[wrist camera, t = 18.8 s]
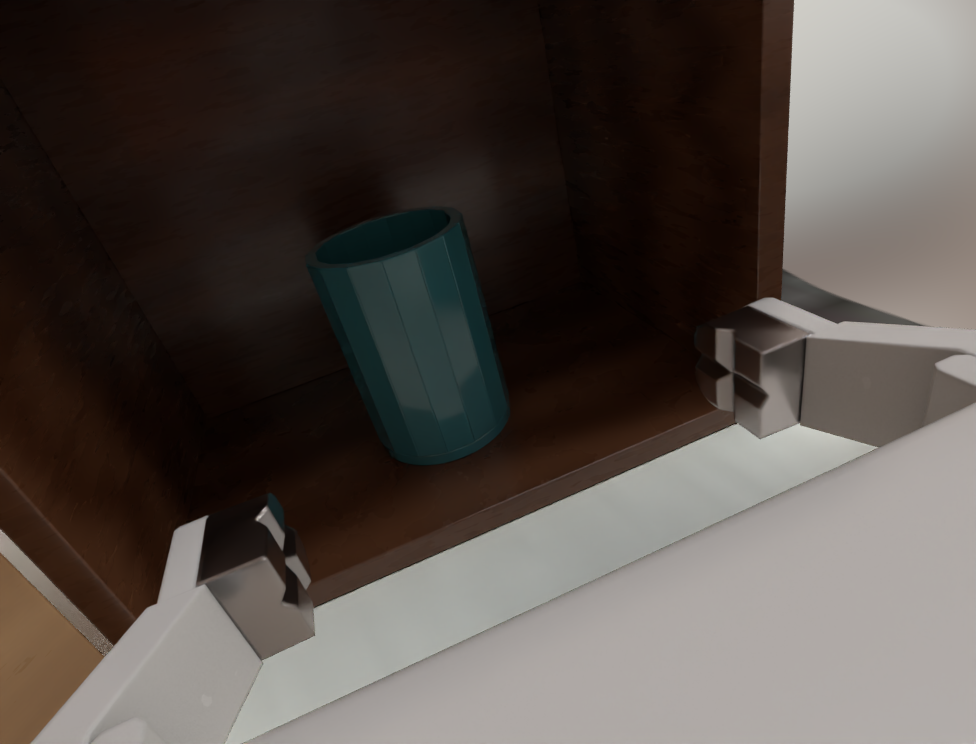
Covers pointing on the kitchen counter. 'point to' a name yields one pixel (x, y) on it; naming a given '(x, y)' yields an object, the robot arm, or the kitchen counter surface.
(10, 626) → the cupboard door
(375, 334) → the cup
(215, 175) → the cupboard
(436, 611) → the kitchen counter surface
